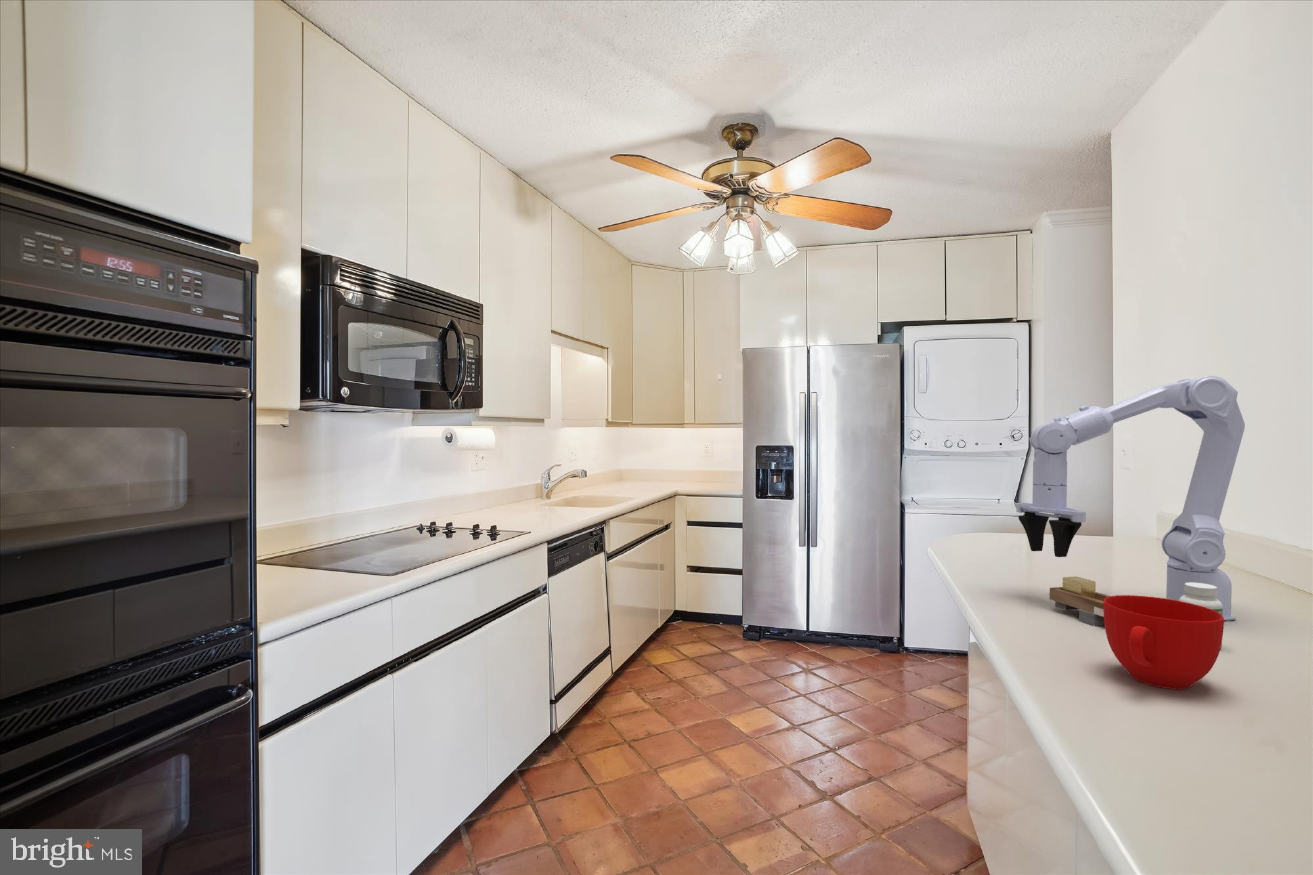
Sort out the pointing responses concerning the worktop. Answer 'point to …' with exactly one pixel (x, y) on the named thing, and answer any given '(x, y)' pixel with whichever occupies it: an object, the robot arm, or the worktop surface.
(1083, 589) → the tan wooden block
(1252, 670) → the worktop surface
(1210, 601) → the supplement bottle
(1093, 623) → the beam
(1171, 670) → the ceramic cup
